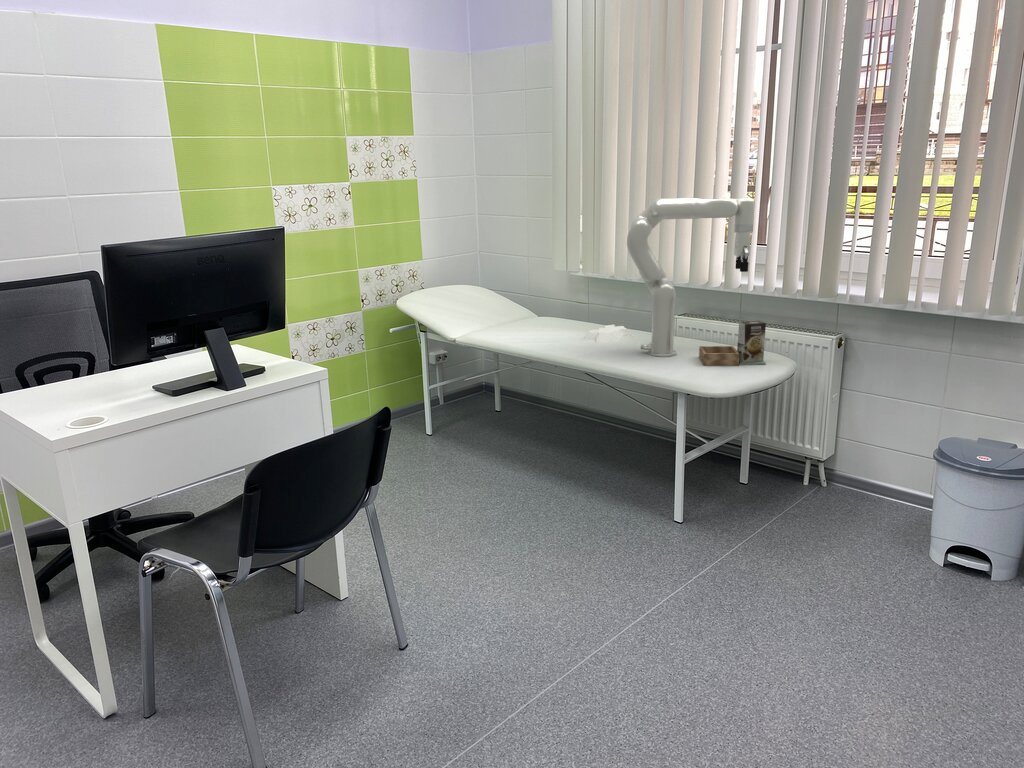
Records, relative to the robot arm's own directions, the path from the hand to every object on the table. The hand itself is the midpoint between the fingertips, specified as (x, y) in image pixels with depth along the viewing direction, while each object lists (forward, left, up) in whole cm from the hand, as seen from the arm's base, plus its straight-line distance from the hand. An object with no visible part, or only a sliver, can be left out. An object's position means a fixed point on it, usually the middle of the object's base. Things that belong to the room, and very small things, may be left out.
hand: (741, 270), depth 317 cm
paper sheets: (-54, +33, -37) cm, 73 cm away
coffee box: (+3, -13, -36) cm, 38 cm away
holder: (-10, -13, -36) cm, 40 cm away
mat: (+3, -13, -36) cm, 39 cm away
